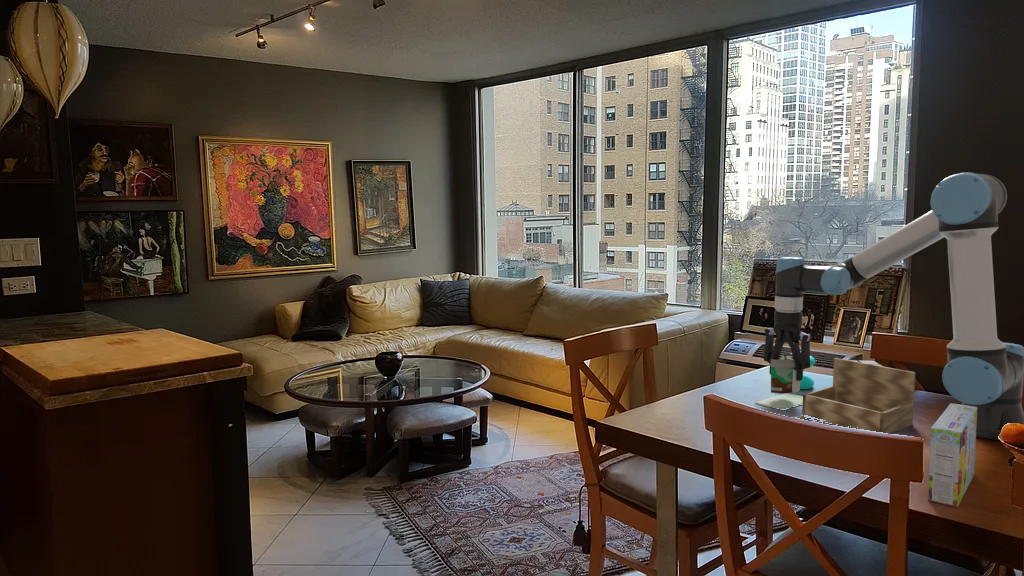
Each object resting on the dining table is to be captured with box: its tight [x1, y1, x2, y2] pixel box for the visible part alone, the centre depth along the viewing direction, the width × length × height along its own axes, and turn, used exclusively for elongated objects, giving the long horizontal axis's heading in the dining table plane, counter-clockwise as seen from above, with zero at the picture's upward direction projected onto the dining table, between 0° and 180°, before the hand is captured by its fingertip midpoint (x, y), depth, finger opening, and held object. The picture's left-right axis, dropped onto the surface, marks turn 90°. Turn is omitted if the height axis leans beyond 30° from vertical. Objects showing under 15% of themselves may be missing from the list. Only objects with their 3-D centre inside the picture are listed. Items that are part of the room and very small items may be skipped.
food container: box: [769, 352, 796, 394], centre depth 197 cm, size 12×6×10 cm, turn 141°
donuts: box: [789, 352, 816, 390], centre depth 215 cm, size 10×10×10 cm
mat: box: [754, 393, 803, 409], centre depth 199 cm, size 9×16×1 cm, turn 125°
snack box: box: [927, 402, 977, 508], centre depth 138 cm, size 21×6×15 cm, turn 139°
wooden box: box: [797, 357, 916, 434], centre depth 179 cm, size 22×22×14 cm
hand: (785, 388), depth 198 cm, fingers closed on food container, 6 cm apart
